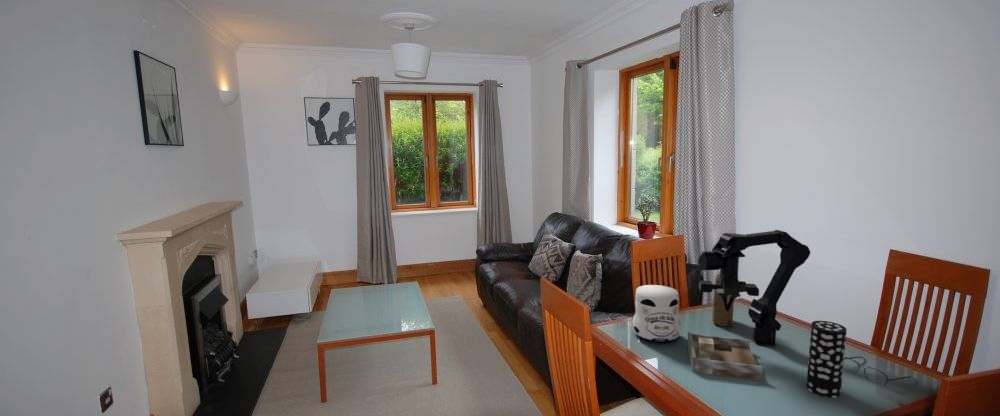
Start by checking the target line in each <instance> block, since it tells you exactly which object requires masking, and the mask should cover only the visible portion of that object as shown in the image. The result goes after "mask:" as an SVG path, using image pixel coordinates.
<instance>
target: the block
mask: <svg viewBox="0 0 1000 416" xmlns="http://www.w3.org/2000/svg"><path fill="white" fill-rule="evenodd" d="M714 284H720V273H717V274H716V275H715V280H714ZM727 300H728V295H727ZM711 318H712V323H713V324H715V326H717V325H718V326H720V327H729V326H732V325H733V322H734V321H733V318H734V302H733V303H732V305H731V307H730V309H729V311H726V310H725V307H724V303H723V300H722V297H721V295H718V294H717V292H716V290H715V289H713V298H712V317H711Z"/></svg>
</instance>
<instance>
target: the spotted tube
mask: <svg viewBox="0 0 1000 416" xmlns="http://www.w3.org/2000/svg"><path fill="white" fill-rule="evenodd" d="M810 326H811V327H810V337H809V338H810V339H809V348H808V361H807V373H806V383H805V384H806V385H805V386H806V390H809V391H810V392H811V393H813V394H815V395H818V396H820V397H824V398H830V399H831V398H832V399H834V398H839V397H840V396H841V391H842V383H843V373H844V372H843V370H844V362H845V361H844V358H845V350H846V341H847V339H846V338H847V327H846V326H844V325H842V324H839V323H836V322H834V321H833V322H832V321H827V320H814V321H812V322H811V324H810Z"/></svg>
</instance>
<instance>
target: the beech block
mask: <svg viewBox="0 0 1000 416" xmlns="http://www.w3.org/2000/svg"><path fill="white" fill-rule="evenodd" d="M698 353H699V355H701V356H709V357H713V356H714V342H713V339H709V338H700V337H698Z"/></svg>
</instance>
